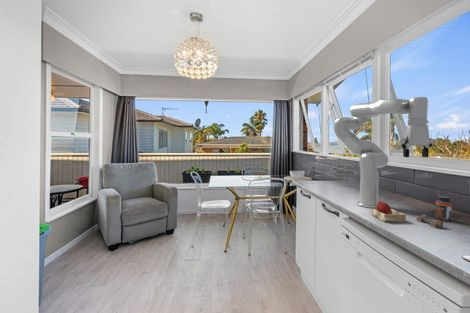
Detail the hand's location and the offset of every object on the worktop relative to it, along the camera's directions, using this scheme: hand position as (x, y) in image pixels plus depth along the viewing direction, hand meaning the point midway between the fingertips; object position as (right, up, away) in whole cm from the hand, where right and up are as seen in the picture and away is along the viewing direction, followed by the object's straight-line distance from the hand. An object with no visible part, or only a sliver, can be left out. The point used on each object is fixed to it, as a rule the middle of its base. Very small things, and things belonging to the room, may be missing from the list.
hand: (415, 157), depth 122 cm
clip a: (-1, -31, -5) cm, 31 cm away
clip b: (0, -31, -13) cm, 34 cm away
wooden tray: (-15, -30, -2) cm, 34 cm away
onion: (-15, -29, -2) cm, 33 cm away
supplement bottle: (+11, -31, -3) cm, 33 cm away
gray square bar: (0, -31, -9) cm, 32 cm away
